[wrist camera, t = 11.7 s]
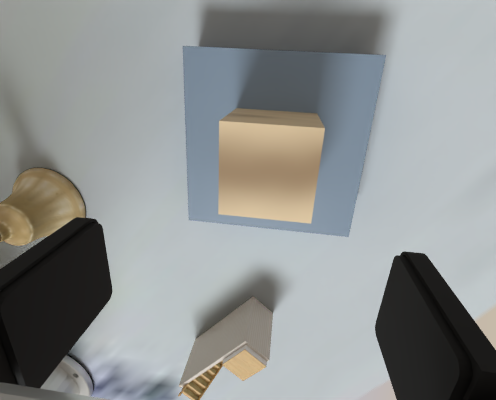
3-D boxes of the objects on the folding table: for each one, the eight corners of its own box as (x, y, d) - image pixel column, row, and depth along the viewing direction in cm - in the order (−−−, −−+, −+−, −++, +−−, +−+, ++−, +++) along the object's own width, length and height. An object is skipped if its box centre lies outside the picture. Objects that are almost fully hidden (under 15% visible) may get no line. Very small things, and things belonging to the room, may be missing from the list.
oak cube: (307, 189, 25) (311, 223, 19) (234, 182, 26) (218, 214, 20) (317, 113, 23) (325, 128, 17) (236, 108, 23) (219, 120, 18)
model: (273, 310, 36) (268, 368, 29) (214, 350, 40) (198, 410, 33) (253, 293, 36) (244, 349, 29) (196, 336, 40) (175, 394, 33)
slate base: (341, 216, 30) (348, 236, 26) (200, 202, 31) (188, 220, 28) (372, 56, 24) (385, 55, 20) (198, 48, 26) (182, 45, 22)
